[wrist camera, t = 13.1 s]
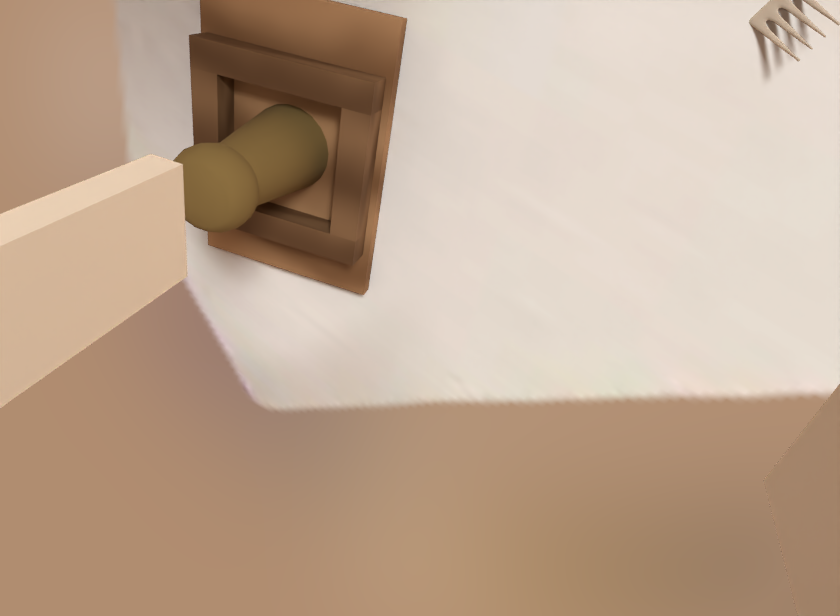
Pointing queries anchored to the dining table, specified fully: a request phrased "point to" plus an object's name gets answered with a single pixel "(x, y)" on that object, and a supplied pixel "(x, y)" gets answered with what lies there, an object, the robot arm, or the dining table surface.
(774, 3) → the fork
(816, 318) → the dining table surface
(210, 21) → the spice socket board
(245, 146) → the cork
